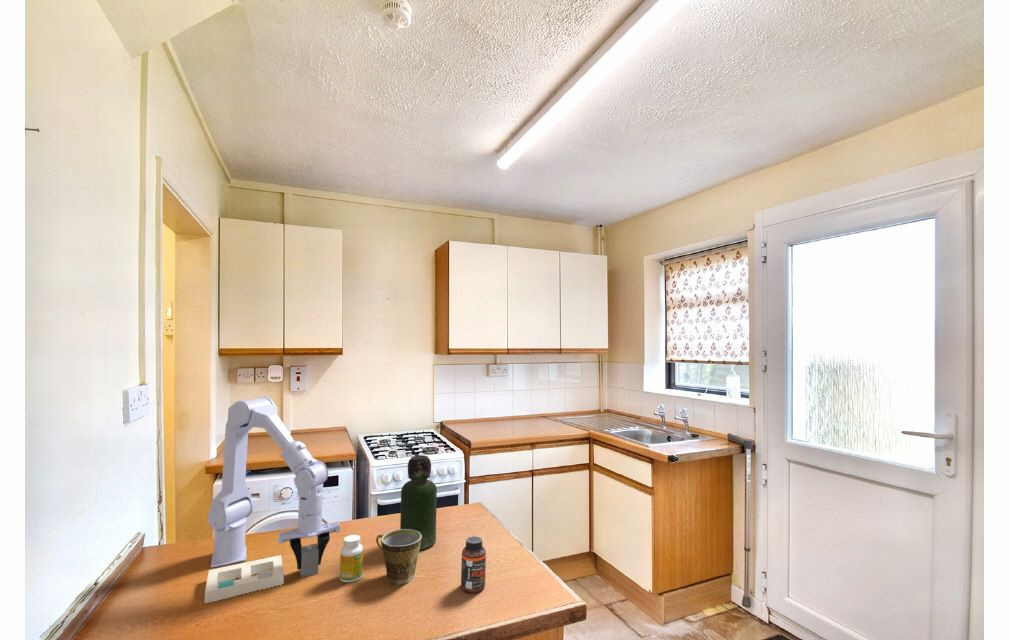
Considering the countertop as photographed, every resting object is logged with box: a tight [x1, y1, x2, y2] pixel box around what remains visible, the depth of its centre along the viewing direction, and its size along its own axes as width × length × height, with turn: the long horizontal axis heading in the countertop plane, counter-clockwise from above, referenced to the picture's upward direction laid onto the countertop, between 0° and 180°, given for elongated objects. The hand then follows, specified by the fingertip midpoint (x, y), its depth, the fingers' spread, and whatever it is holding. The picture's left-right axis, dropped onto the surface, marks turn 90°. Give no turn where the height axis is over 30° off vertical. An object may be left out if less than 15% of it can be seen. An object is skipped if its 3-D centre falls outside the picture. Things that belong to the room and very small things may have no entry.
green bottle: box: [399, 454, 438, 551], centre depth 131 cm, size 10×10×25 cm
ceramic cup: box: [375, 529, 421, 586], centre depth 112 cm, size 13×10×10 cm
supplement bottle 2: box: [460, 536, 487, 594], centre depth 107 cm, size 6×6×11 cm
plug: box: [299, 543, 319, 578], centre depth 113 cm, size 4×4×6 cm
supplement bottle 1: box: [339, 534, 364, 583], centre depth 111 cm, size 5×5×10 cm
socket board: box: [204, 554, 285, 604], centre depth 108 cm, size 11×16×3 cm
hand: (308, 565), depth 113 cm, fingers closed on plug, 4 cm apart
